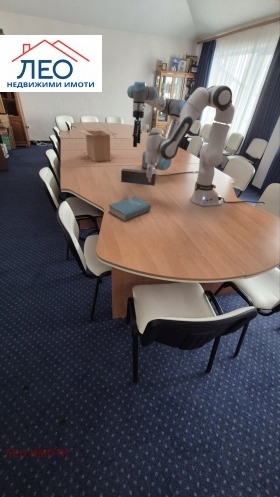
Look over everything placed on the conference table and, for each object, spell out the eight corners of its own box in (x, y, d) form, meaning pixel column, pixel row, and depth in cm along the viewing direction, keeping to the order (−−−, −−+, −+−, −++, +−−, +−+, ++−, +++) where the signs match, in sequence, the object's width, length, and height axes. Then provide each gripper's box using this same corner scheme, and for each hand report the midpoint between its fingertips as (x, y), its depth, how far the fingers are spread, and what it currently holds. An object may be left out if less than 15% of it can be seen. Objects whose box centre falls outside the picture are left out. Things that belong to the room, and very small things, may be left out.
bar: (121, 182, 157) (121, 170, 153) (122, 179, 161) (122, 168, 156) (154, 185, 155) (155, 174, 150) (155, 183, 159) (156, 172, 154)
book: (133, 203, 159) (134, 196, 156) (150, 211, 150) (150, 204, 147) (108, 212, 145) (108, 205, 142) (125, 221, 137) (125, 214, 134)
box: (120, 162, 240) (121, 134, 224) (89, 164, 226) (86, 135, 210) (106, 152, 270) (105, 127, 254) (77, 154, 256) (74, 127, 240)
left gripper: (141, 112, 137) (138, 149, 149) (146, 109, 157) (144, 142, 169) (129, 111, 137) (128, 148, 150) (136, 108, 157) (134, 141, 170)
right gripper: (154, 164, 139) (152, 185, 147) (157, 156, 155) (155, 176, 163) (144, 163, 139) (143, 184, 148) (149, 155, 156) (147, 175, 164)
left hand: (136, 145), depth 160 cm, fingers open, 13 cm apart
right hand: (150, 180), depth 156 cm, fingers closed on bar, 5 cm apart
